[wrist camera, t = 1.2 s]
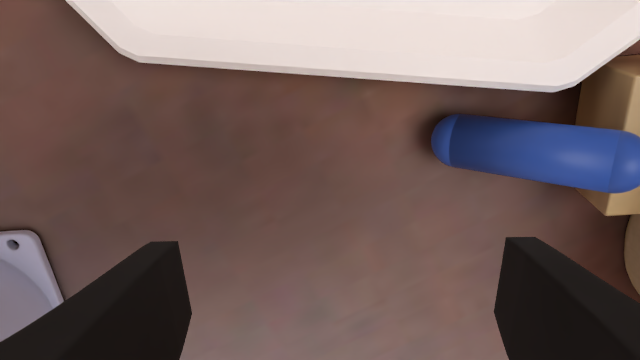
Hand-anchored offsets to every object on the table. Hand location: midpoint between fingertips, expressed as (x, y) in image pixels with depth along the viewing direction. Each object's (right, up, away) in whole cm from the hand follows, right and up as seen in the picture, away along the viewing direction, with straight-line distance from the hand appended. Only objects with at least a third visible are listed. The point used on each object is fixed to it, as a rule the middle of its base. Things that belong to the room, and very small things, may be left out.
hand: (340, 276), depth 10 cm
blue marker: (+7, +3, +6) cm, 9 cm away
